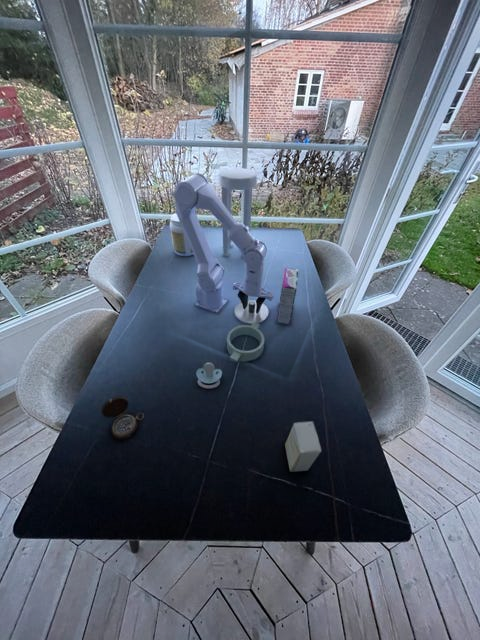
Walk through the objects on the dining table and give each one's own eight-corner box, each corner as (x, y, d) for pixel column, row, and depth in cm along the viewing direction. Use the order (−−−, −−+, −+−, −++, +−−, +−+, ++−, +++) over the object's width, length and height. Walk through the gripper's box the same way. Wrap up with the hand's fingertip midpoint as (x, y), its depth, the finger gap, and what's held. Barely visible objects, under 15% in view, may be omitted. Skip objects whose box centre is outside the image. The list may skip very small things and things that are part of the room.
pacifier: (220, 390, 74) (222, 372, 79) (220, 378, 70) (222, 359, 74) (194, 388, 75) (198, 370, 79) (192, 376, 70) (196, 358, 74)
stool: (224, 242, 137) (222, 166, 112) (253, 245, 135) (258, 168, 111) (218, 258, 125) (214, 177, 101) (250, 261, 124) (255, 180, 100)
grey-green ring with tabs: (216, 359, 82) (216, 350, 79) (240, 325, 93) (240, 316, 90) (250, 373, 78) (251, 364, 75) (271, 336, 90) (272, 327, 87)
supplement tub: (195, 243, 136) (191, 209, 124) (202, 254, 128) (199, 219, 116) (171, 247, 132) (165, 213, 120) (177, 259, 124) (171, 224, 112)
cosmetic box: (284, 444, 64) (292, 421, 55) (302, 443, 64) (313, 420, 56) (290, 473, 59) (299, 452, 51) (309, 471, 60) (322, 451, 51)
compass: (116, 445, 63) (106, 431, 58) (106, 419, 68) (96, 404, 63) (149, 425, 66) (142, 411, 61) (137, 402, 71) (130, 387, 66)
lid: (228, 318, 96) (228, 307, 92) (243, 298, 104) (243, 288, 100) (260, 329, 92) (261, 319, 88) (273, 308, 100) (274, 297, 96)
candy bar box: (278, 303, 102) (284, 267, 91) (291, 305, 101) (299, 269, 90) (275, 323, 94) (281, 286, 83) (289, 325, 93) (297, 288, 82)
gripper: (278, 278, 88) (274, 309, 97) (239, 267, 92) (238, 297, 101) (270, 289, 83) (267, 320, 92) (229, 277, 87) (230, 308, 97)
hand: (251, 309), depth 97 cm, fingers open, 4 cm apart
